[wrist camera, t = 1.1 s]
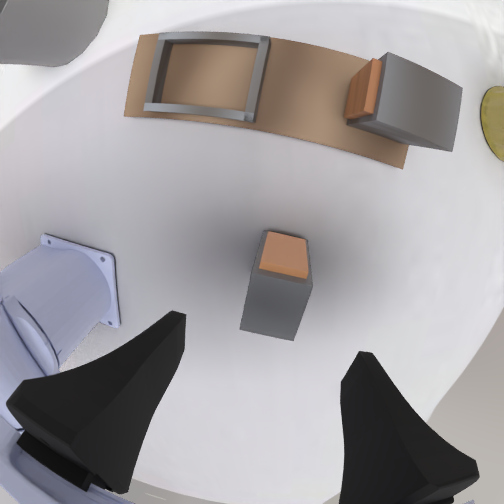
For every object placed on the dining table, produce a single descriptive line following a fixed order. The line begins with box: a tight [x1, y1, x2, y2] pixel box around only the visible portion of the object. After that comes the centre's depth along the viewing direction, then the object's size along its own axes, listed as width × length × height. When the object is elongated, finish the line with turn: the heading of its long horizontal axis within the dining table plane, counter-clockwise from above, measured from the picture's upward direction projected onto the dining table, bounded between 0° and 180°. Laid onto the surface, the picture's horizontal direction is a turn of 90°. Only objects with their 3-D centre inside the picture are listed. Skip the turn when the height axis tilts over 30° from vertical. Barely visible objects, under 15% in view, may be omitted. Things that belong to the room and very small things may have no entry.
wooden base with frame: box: [124, 32, 462, 169], centre depth 11 cm, size 18×6×7 cm, turn 80°
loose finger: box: [240, 231, 313, 341], centre depth 17 cm, size 4×3×6 cm
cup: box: [0, 0, 109, 67], centre depth 9 cm, size 8×8×10 cm
